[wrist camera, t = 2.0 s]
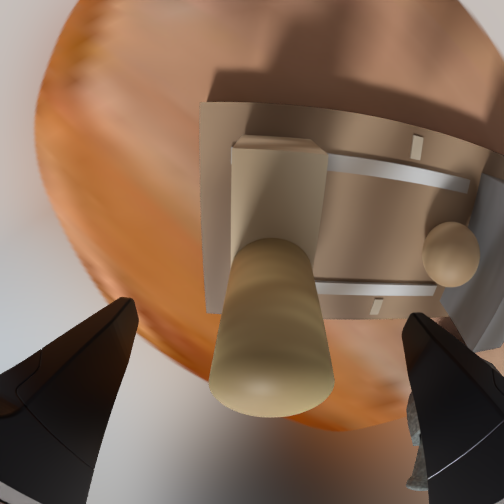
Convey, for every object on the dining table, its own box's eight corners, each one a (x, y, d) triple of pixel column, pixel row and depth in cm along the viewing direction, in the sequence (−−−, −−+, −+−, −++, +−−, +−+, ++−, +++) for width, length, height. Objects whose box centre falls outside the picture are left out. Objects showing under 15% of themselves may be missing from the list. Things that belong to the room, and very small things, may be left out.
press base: (504, 155, 12) (571, 190, 7) (456, 303, 18) (493, 362, 13) (206, 102, 13) (161, 103, 7) (210, 297, 19) (190, 377, 13)
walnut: (465, 215, 13) (499, 243, 10) (448, 266, 15) (475, 299, 12) (421, 208, 13) (454, 237, 10) (405, 264, 15) (430, 301, 12)
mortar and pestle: (465, 309, 19) (528, 423, 8) (484, 349, 21) (526, 437, 11) (363, 381, 23) (386, 500, 13) (403, 406, 26) (425, 496, 15)
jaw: (310, 139, 12) (390, 214, 4) (291, 302, 16) (301, 452, 8) (242, 134, 12) (193, 201, 4) (238, 299, 16) (218, 448, 9)
